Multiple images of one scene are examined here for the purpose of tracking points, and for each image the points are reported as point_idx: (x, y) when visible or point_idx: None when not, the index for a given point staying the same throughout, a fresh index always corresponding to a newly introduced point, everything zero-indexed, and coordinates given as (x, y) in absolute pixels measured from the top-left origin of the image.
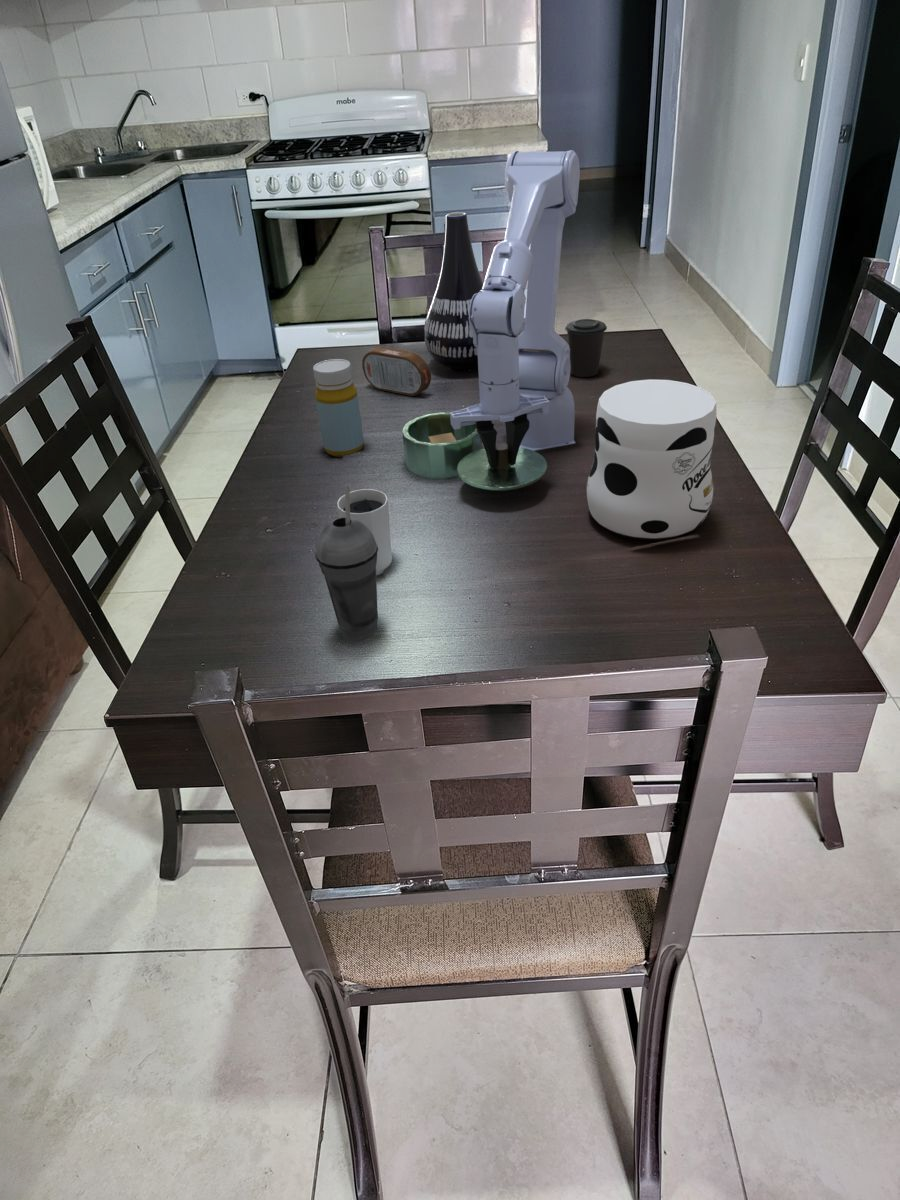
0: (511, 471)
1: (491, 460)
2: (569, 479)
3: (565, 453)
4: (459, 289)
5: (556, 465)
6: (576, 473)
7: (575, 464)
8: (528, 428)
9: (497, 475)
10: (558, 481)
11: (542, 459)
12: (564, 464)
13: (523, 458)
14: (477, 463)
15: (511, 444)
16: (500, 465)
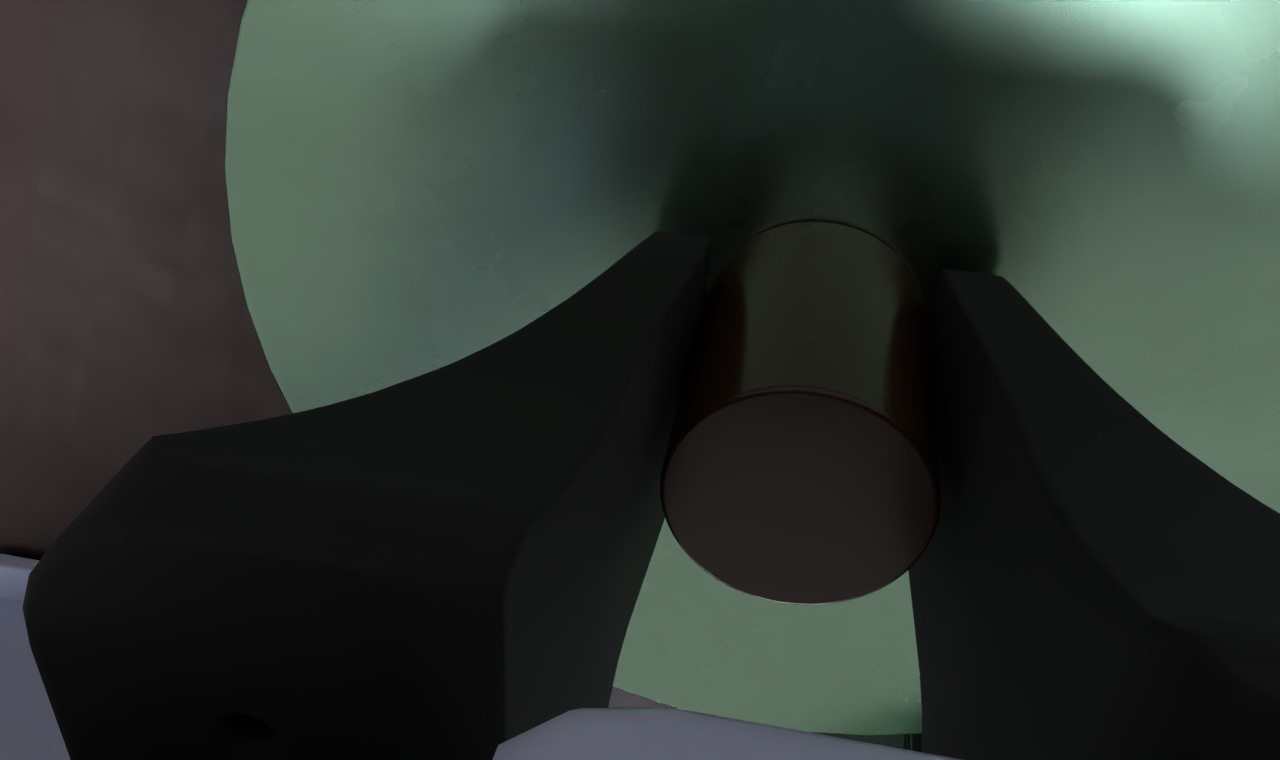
0: (768, 107)
1: (1049, 331)
2: (116, 92)
3: (83, 495)
4: None
5: (186, 372)
6: (36, 167)
7: (26, 312)
8: (158, 437)
9: (1019, 93)
10: (226, 107)
11: (258, 217)
12: (117, 355)
13: None
14: None
15: (637, 438)
16: (880, 268)
